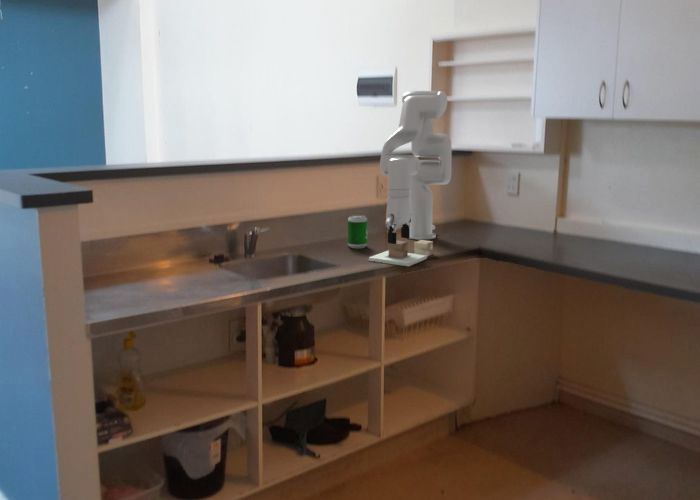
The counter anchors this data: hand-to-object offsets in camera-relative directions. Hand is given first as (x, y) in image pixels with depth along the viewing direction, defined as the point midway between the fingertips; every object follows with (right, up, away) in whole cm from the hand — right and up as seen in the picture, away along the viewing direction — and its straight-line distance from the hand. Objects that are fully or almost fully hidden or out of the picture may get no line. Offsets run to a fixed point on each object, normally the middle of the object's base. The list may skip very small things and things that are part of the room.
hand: (398, 240), depth 254 cm
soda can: (-15, -2, +22) cm, 27 cm away
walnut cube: (0, -6, 0) cm, 6 cm away
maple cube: (+10, -5, +8) cm, 14 cm away
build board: (0, -7, +1) cm, 7 cm away
